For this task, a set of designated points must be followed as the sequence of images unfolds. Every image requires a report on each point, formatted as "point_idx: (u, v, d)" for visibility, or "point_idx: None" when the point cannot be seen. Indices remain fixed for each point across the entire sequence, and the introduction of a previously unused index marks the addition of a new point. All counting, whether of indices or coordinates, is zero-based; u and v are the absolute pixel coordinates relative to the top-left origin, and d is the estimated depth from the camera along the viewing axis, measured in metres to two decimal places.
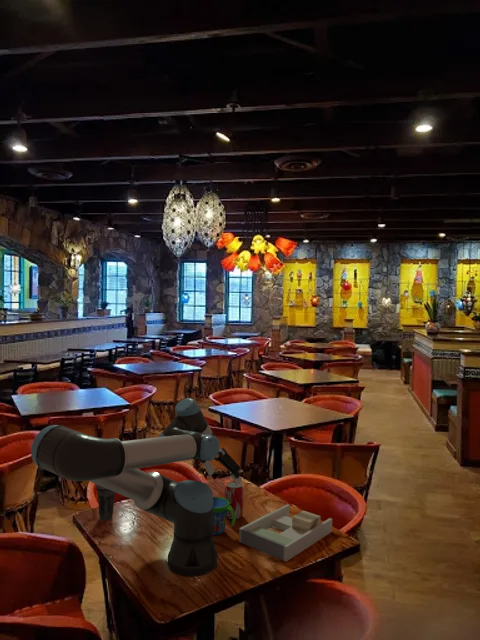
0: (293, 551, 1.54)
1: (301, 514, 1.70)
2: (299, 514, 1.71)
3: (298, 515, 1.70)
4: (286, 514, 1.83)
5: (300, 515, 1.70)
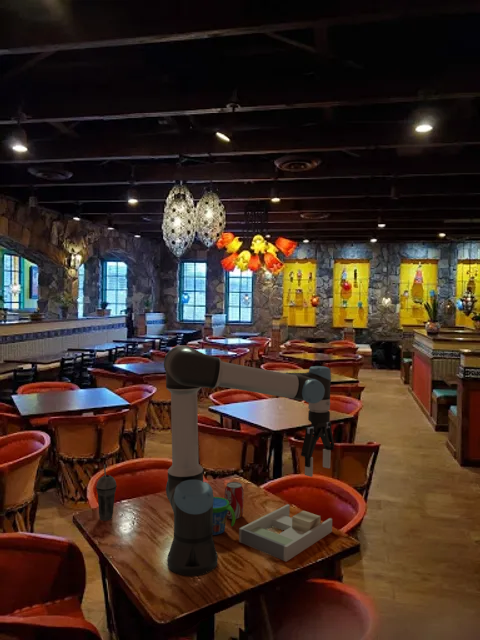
0: (293, 551, 1.54)
1: (301, 514, 1.70)
2: (299, 514, 1.71)
3: (298, 515, 1.70)
4: (286, 514, 1.83)
5: (300, 515, 1.70)
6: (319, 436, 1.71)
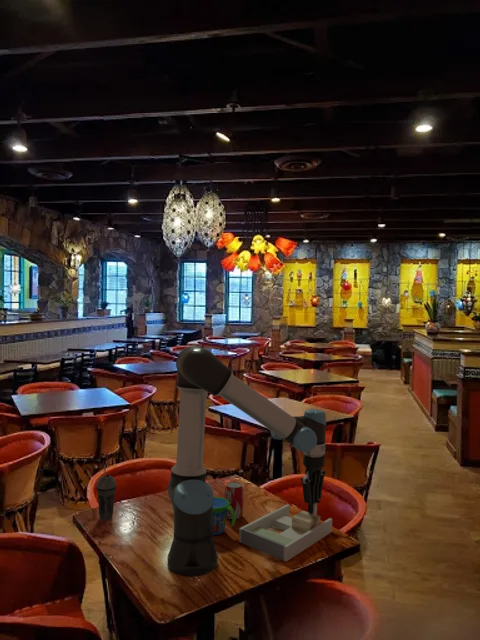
0: (293, 551, 1.54)
1: (301, 515, 1.70)
2: (299, 514, 1.71)
3: (298, 515, 1.70)
4: (286, 514, 1.83)
5: (300, 515, 1.70)
6: (316, 481, 1.70)
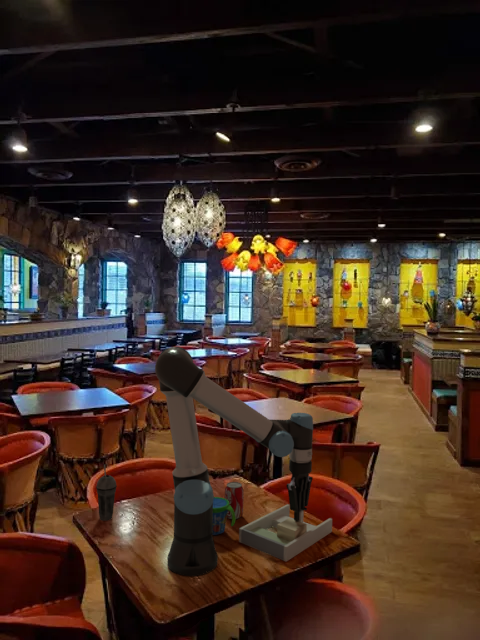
0: (293, 551, 1.54)
1: (287, 522, 1.64)
2: (284, 522, 1.64)
3: (283, 523, 1.63)
4: (286, 514, 1.83)
5: (286, 523, 1.64)
6: (302, 487, 1.64)
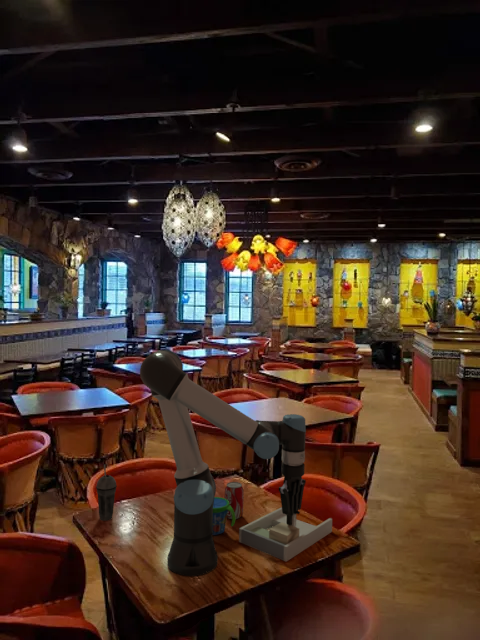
0: (293, 551, 1.54)
1: (279, 527, 1.60)
2: (277, 526, 1.61)
3: (275, 527, 1.60)
4: None
5: (278, 527, 1.60)
6: (295, 490, 1.60)
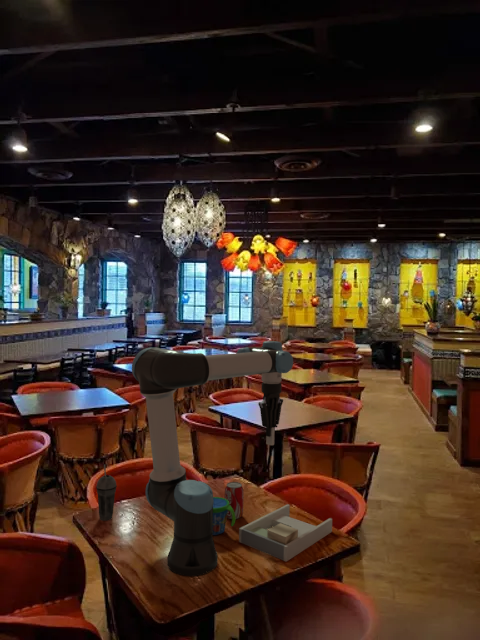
0: (293, 551, 1.54)
1: (278, 528, 1.60)
2: (275, 527, 1.60)
3: (274, 528, 1.59)
4: (286, 514, 1.83)
5: (277, 528, 1.59)
6: (273, 406, 1.84)
